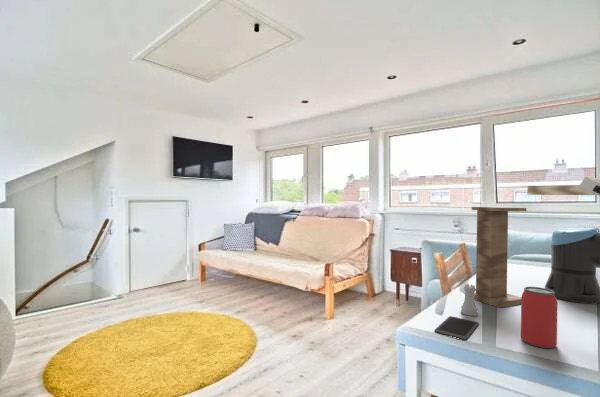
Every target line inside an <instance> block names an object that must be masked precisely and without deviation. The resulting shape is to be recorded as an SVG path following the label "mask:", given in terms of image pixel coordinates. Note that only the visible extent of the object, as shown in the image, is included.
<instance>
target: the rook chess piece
mask: <svg viewBox="0 0 600 397" xmlns="http://www.w3.org/2000/svg"><path fill="white" fill-rule="evenodd" d="M463 289H464V293H463V294H464V301H463V303H462V305H461V307H460V308H461V310H460V312H461V314H463V315H465V316H468V317H476V316H478V315H479V313H478V311H479V309H478V307H477V305H476V300H475V299H474V296H475V294H474V293H476V285H473V284H469V283H467V284H464V286H463Z"/></svg>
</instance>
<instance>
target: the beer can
mask: <svg viewBox="0 0 600 397" xmlns="http://www.w3.org/2000/svg"><path fill="white" fill-rule="evenodd" d="M554 294H555V292H554V291H552V290H549V289H545V287H538V286H525V287H524V289H523V291H522V294H521V296H520V297H521V304H520V305H521V306H520V310H521V311H520V338H521V340H522V341H523V342H525V343H527V345H530V346H533V347H536V348H539V349H540V348H542V349H552V348H555V347H557V346H558V345H557V344H558V303H559V302H558V298H556V297H555V295H554Z"/></svg>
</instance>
